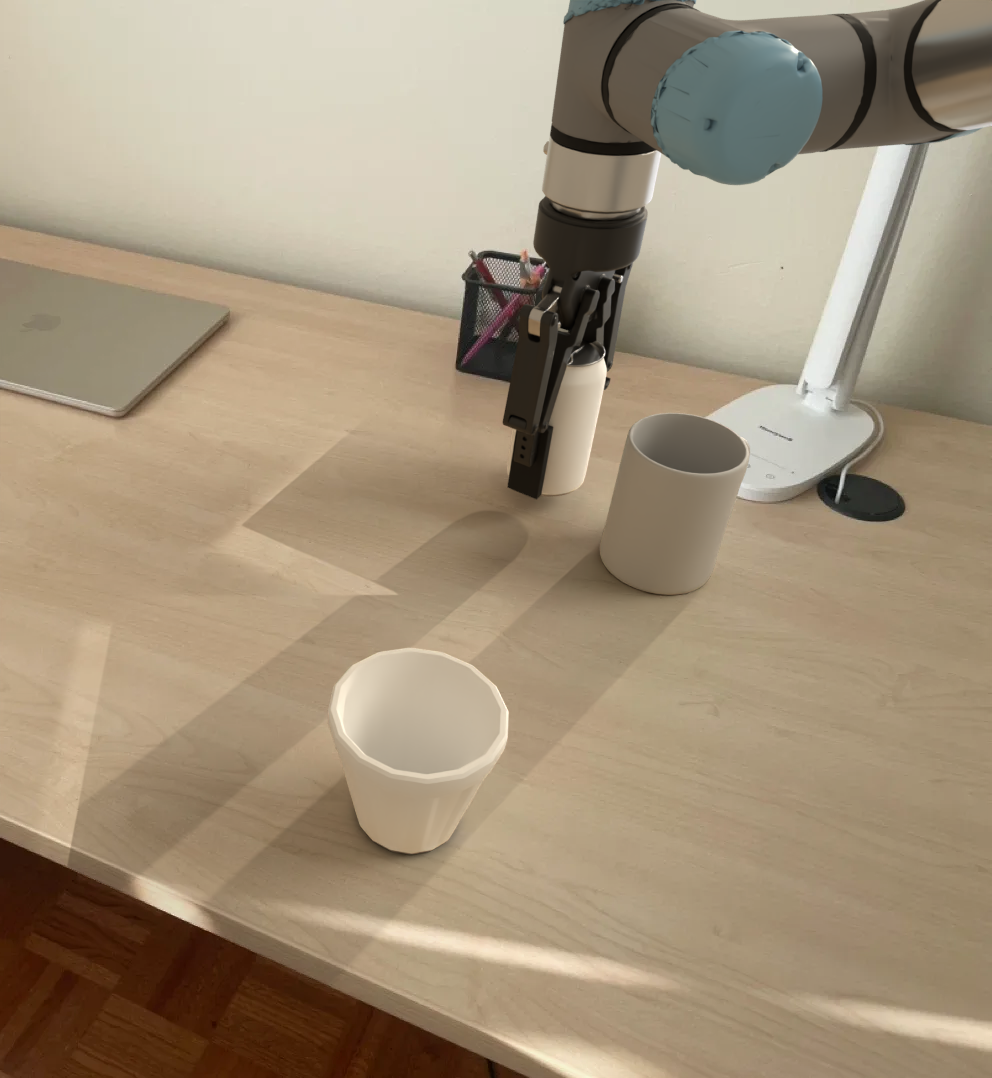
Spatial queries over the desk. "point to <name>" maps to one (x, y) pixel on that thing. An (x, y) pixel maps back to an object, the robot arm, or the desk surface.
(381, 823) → the cup
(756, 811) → the desk surface
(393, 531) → the desk surface
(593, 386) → the can
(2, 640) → the desk surface
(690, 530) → the mug
